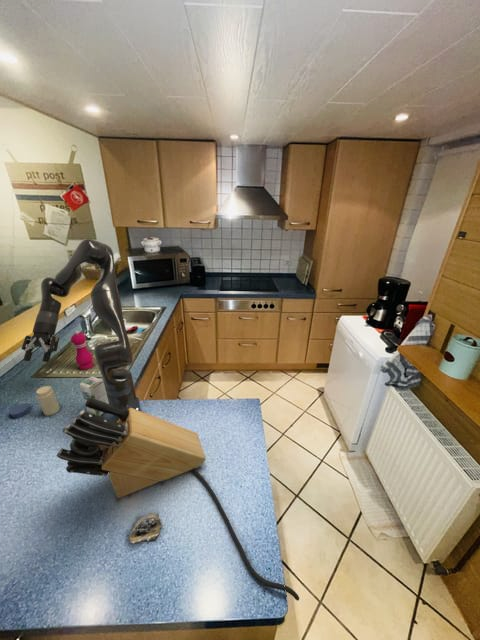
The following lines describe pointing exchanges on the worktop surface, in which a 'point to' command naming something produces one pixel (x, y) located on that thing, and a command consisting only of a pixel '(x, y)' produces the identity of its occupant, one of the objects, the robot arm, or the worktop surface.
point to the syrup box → (94, 392)
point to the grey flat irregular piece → (146, 528)
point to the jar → (47, 400)
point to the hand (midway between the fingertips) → (35, 361)
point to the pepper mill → (82, 351)
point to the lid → (19, 410)
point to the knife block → (129, 448)
